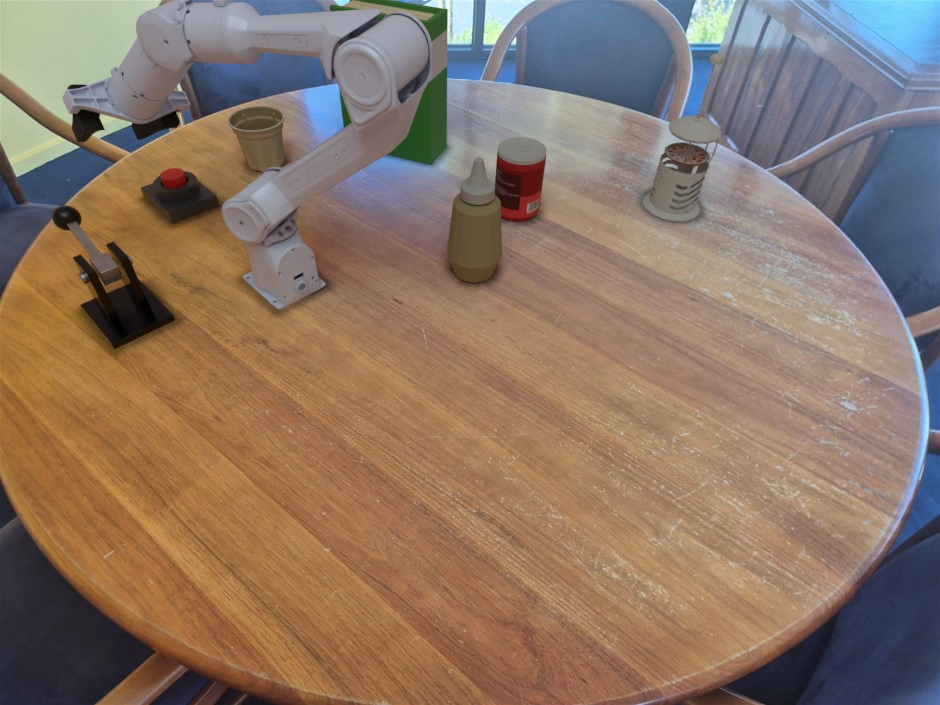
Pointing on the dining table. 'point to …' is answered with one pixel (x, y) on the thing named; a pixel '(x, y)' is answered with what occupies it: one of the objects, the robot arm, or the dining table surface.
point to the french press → (683, 166)
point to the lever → (87, 244)
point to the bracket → (121, 302)
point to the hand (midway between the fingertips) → (108, 133)
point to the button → (173, 178)
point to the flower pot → (259, 135)
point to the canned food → (519, 177)
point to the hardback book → (432, 110)
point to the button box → (180, 198)
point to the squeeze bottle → (475, 227)
